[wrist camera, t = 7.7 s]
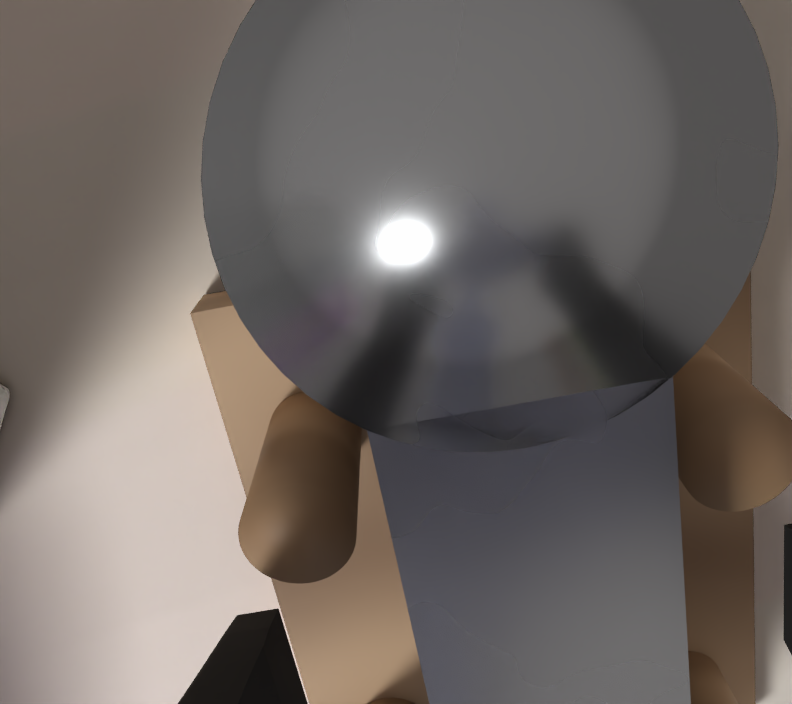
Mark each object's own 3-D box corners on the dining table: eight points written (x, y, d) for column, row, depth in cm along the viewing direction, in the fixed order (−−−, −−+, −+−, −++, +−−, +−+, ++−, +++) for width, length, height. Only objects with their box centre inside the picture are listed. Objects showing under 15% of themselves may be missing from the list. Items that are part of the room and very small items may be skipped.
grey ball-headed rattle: (666, 828, 17) (776, 1124, 12) (447, 861, 17) (472, 1162, 12) (596, -83, 10) (780, -200, 5) (238, -8, 10) (122, -59, 6)
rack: (735, 719, 17) (834, 906, 13) (347, 778, 17) (338, 974, 14) (722, 197, 13) (866, 257, 9) (203, 295, 13) (133, 390, 9)
